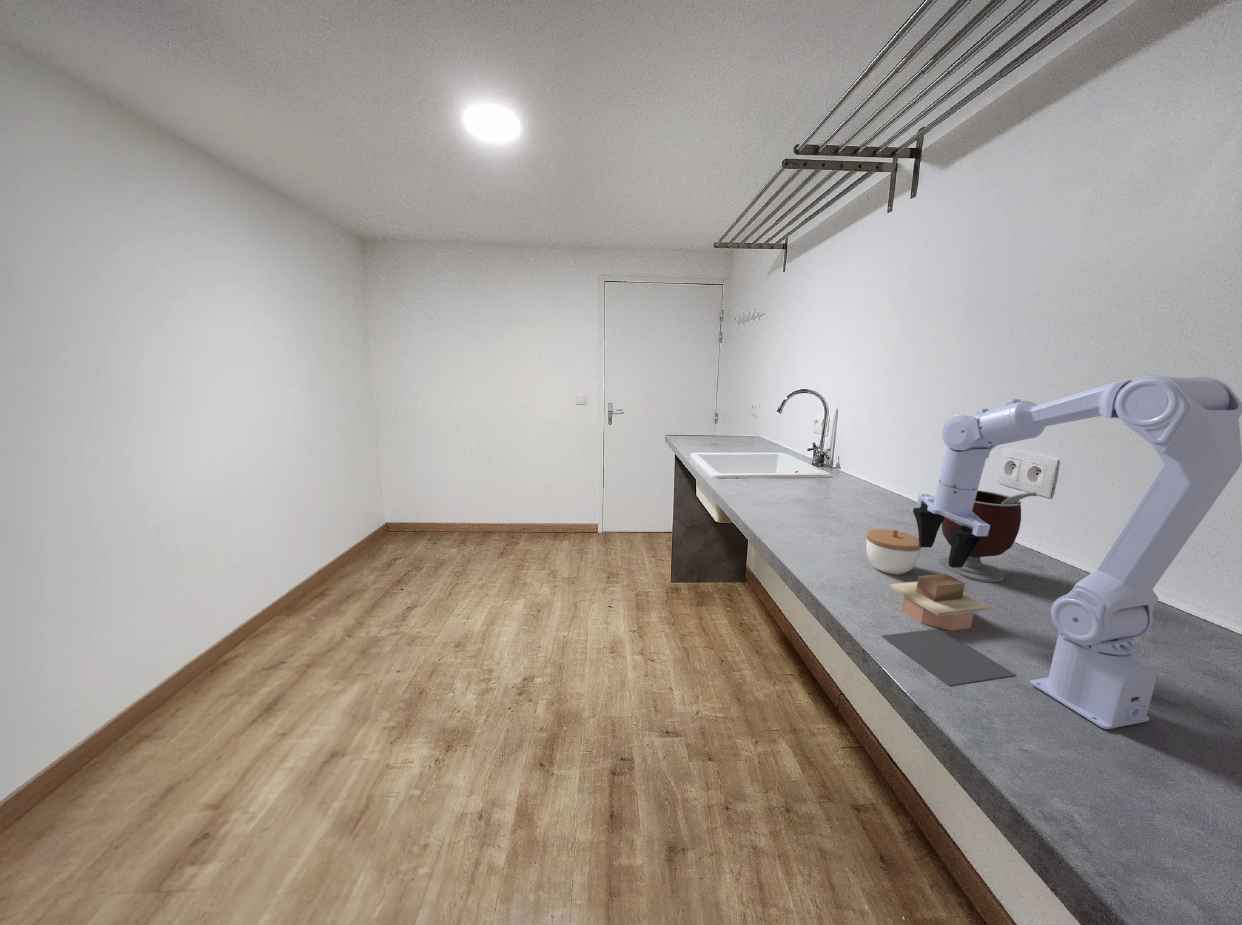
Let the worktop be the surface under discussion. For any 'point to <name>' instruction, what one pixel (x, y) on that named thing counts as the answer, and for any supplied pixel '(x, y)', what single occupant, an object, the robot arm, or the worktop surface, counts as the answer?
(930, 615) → the bowl
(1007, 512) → the mate gourd
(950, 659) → the mat
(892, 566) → the lidded jar
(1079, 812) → the worktop surface
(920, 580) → the cover
